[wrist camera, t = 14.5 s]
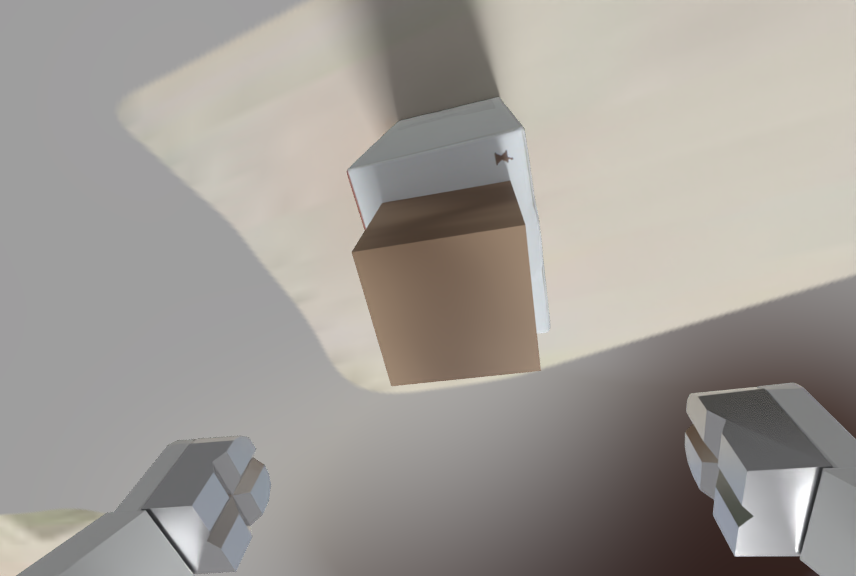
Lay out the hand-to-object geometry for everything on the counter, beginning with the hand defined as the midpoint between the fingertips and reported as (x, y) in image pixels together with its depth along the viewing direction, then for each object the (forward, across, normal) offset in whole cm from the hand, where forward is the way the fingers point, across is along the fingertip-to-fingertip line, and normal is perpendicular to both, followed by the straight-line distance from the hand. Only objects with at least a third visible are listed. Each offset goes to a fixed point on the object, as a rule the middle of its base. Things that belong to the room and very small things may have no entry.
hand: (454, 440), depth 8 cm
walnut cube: (+9, 0, 0) cm, 9 cm away
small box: (+22, +1, 0) cm, 22 cm away
